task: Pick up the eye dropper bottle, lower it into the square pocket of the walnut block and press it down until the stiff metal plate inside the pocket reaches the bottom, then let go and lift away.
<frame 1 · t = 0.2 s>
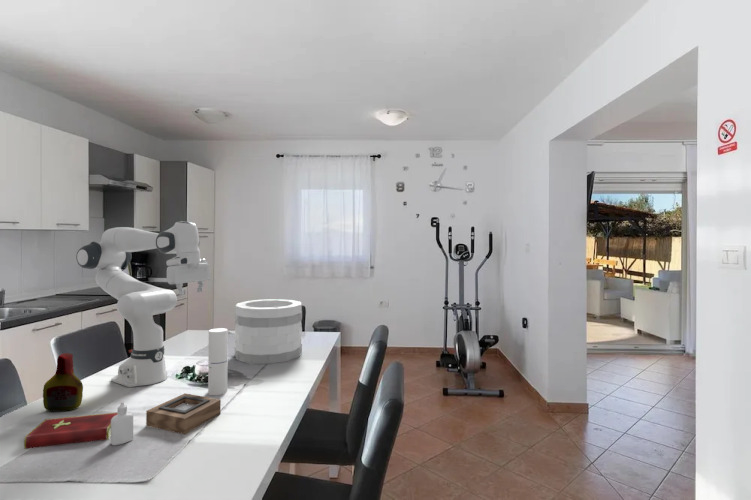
hand: (191, 293, 162), 39 cm above the table, tool pointing down, fingers open, 8 cm apart
hardcover book: (76, 437, 122), on the table
eye dropper bottle: (122, 442, 119), on the table
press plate: (184, 409, 134), point 4 cm above the table, slide at 0.0 cm
bottle: (63, 410, 140), on the table
storage basket: (269, 354, 213), on the table
socket block: (184, 419, 134), on the table
cylindrical container: (217, 392, 159), on the table
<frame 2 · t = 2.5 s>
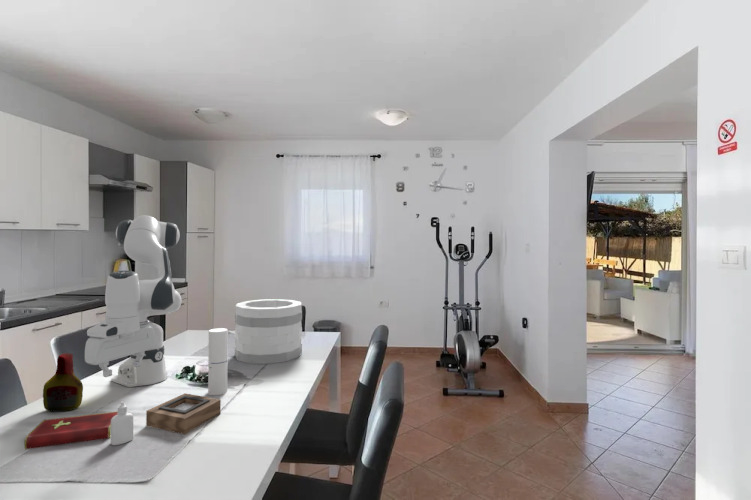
hand: (122, 371, 118), 21 cm above the table, tool pointing down, fingers open, 8 cm apart
nothing on the table moved.
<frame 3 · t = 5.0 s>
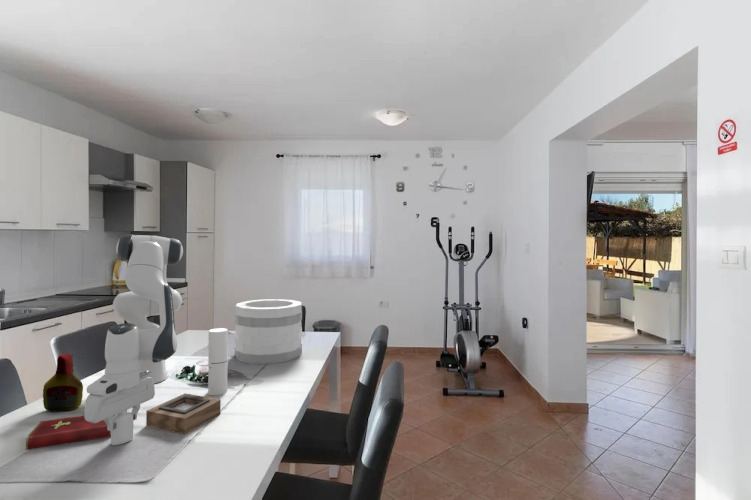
hand: (122, 424, 118), 5 cm above the table, tool pointing down, fingers closed on eye dropper bottle, 5 cm apart
eye dropper bottle: (122, 442, 119), on the table, touching gripper
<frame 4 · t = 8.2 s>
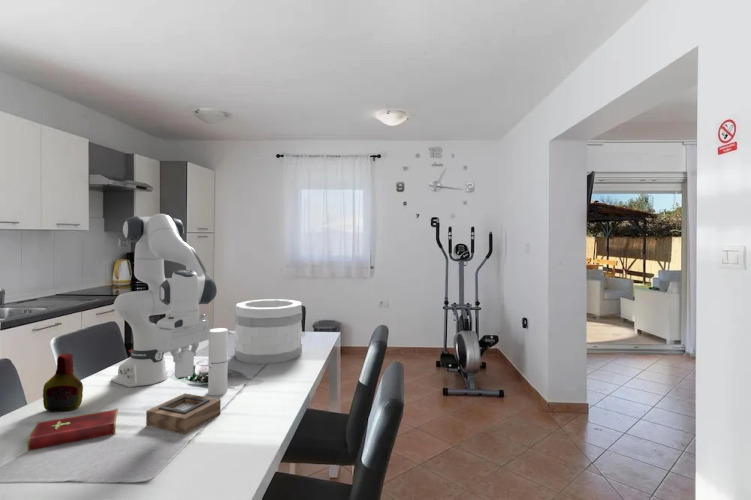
hand: (184, 359, 133), 21 cm above the table, tool pointing down, fingers closed on eye dropper bottle, 5 cm apart
eye dropper bottle: (184, 376, 133), point 15 cm above the table, touching gripper
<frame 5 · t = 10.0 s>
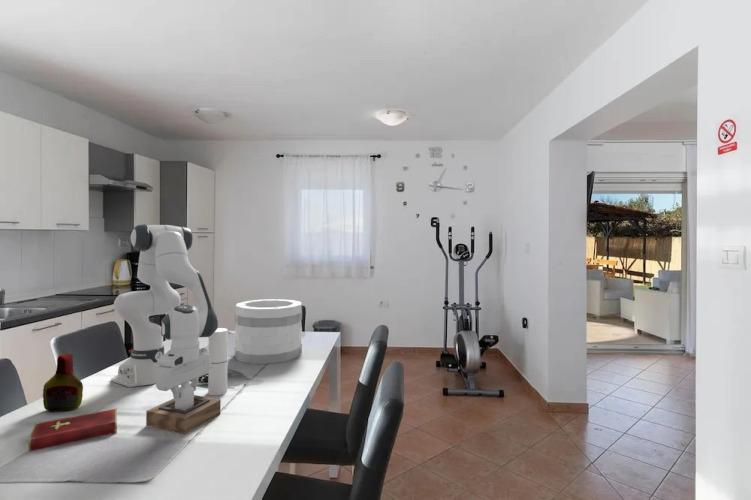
hand: (184, 394, 133), 9 cm above the table, tool pointing down, fingers closed on eye dropper bottle, 5 cm apart
eye dropper bottle: (184, 411, 133), point 3 cm above the table, touching gripper, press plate
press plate: (184, 412, 134), point 3 cm above the table, slide at 1.1 cm, touching eye dropper bottle
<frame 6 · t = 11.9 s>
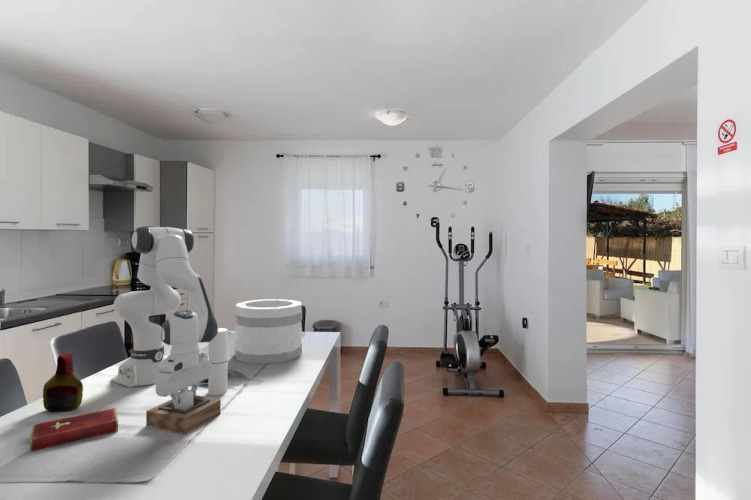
hand: (184, 400, 133), 7 cm above the table, tool pointing down, fingers closed on eye dropper bottle, 5 cm apart
eye dropper bottle: (184, 416, 133), point 1 cm above the table, touching gripper, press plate
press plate: (184, 416, 134), point 1 cm above the table, slide at 2.4 cm, touching eye dropper bottle, socket block
when the fingers open (7 cm above the table, at t = 11.9 s): eye dropper bottle stays where it is, resting on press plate.
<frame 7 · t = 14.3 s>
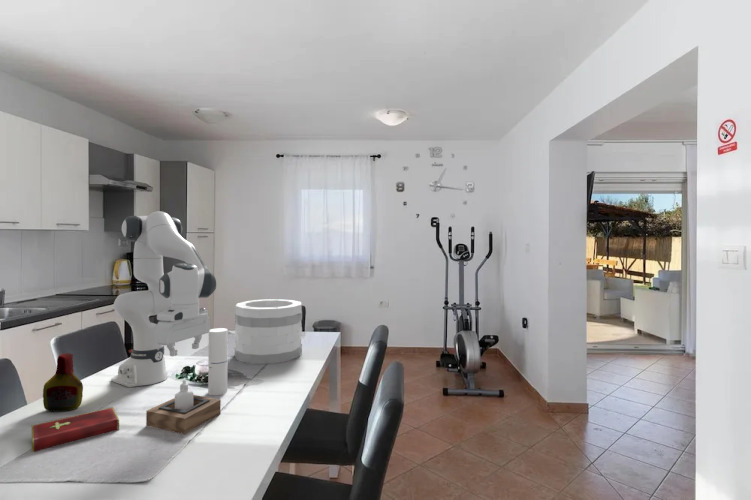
hand: (184, 352, 133), 23 cm above the table, tool pointing down, fingers open, 8 cm apart
eye dropper bottle: (184, 416, 133), point 1 cm above the table, touching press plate
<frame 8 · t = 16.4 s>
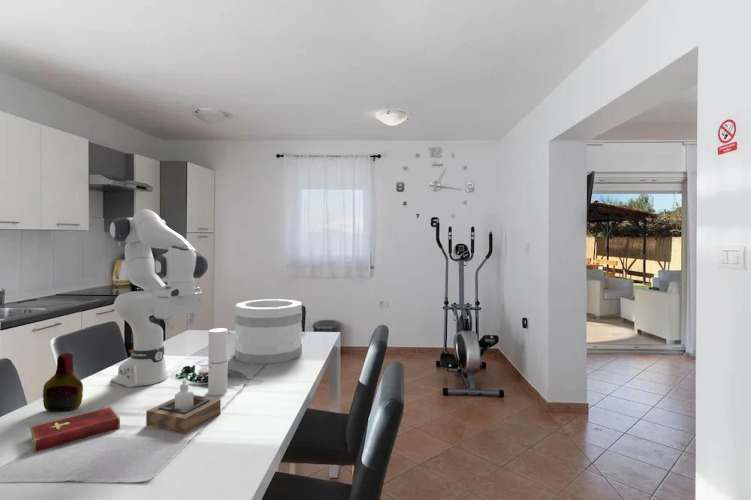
hand: (180, 327, 144), 29 cm above the table, tool pointing down, fingers open, 8 cm apart
at the end: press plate slide at 2.4 cm; eye dropper bottle 0.4 cm off-centre on the socket block, point 1.4 cm above the socket block's base; eye dropper bottle tilted 0° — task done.
